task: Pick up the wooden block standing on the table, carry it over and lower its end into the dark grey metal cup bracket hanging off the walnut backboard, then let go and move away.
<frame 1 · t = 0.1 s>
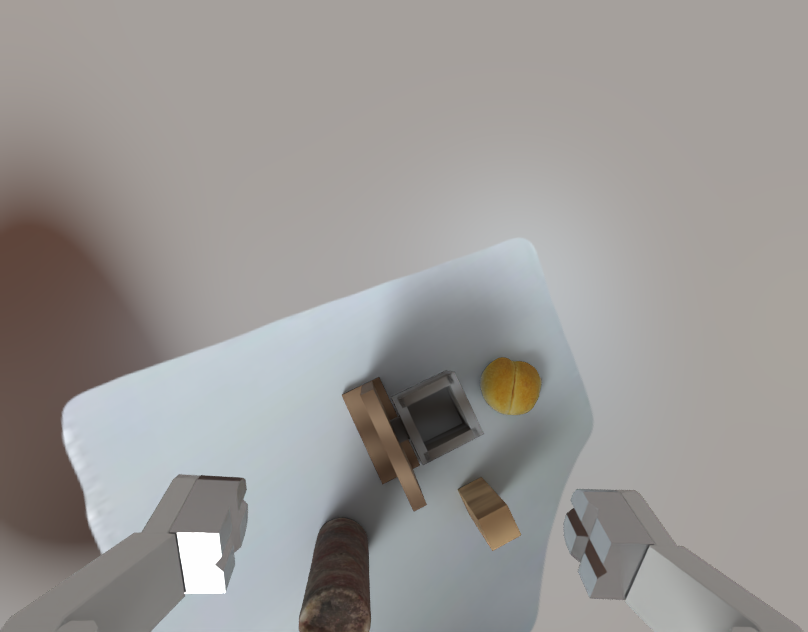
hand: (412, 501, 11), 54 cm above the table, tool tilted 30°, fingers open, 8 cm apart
bracket: (426, 406, 65), on the table
wooden block: (475, 495, 64), on the table
bread roll: (508, 385, 67), on the table
brown rough cylinder: (343, 540, 62), on the table
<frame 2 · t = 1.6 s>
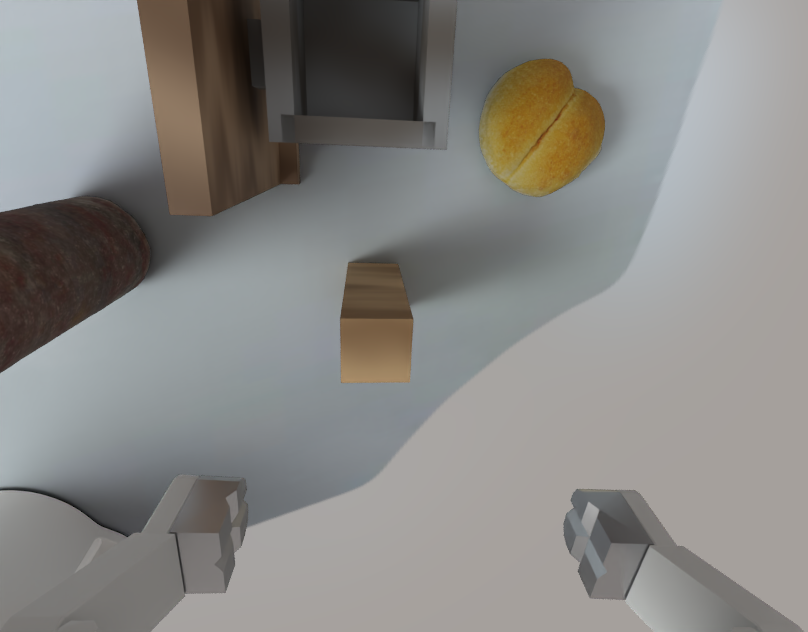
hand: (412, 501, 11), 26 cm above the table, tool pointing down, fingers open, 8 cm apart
bracket: (361, 80, 30), on the table
wooden block: (372, 286, 36), on the table
bread roll: (534, 132, 33), on the table
brown rough cylinder: (109, 244, 33), on the table
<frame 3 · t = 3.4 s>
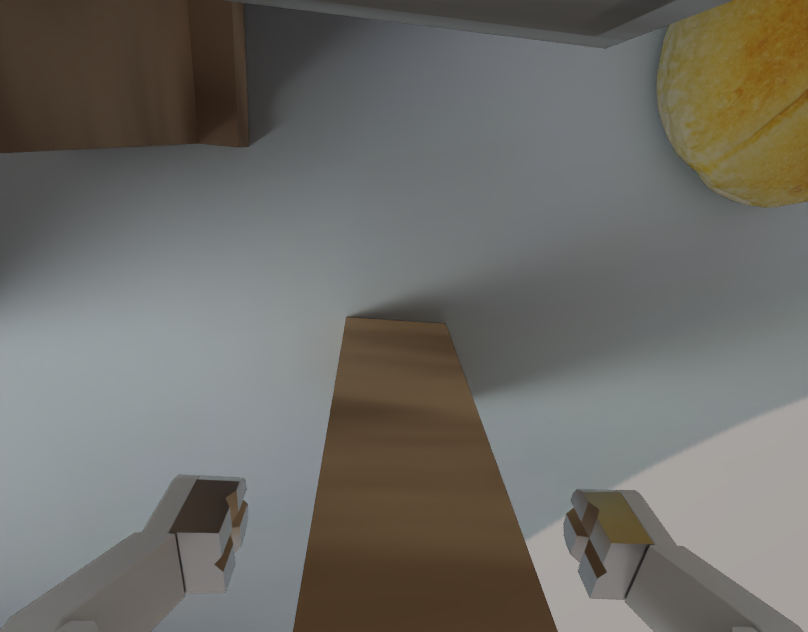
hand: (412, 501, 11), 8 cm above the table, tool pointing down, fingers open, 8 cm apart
wooden block: (392, 364, 18), on the table
bread roll: (769, 65, 15), on the table
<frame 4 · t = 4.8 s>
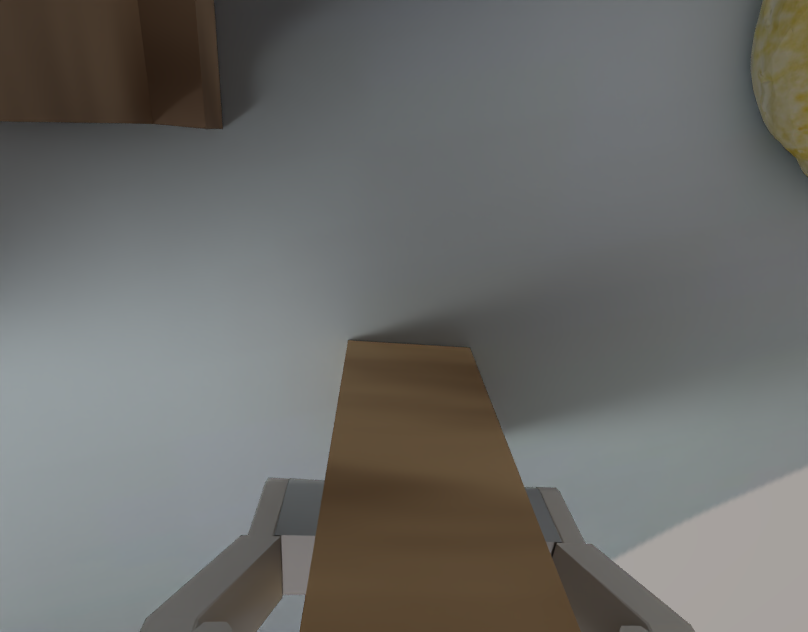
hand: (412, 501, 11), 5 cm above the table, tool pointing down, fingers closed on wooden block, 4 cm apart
wooden block: (404, 395, 15), on the table, touching gripper
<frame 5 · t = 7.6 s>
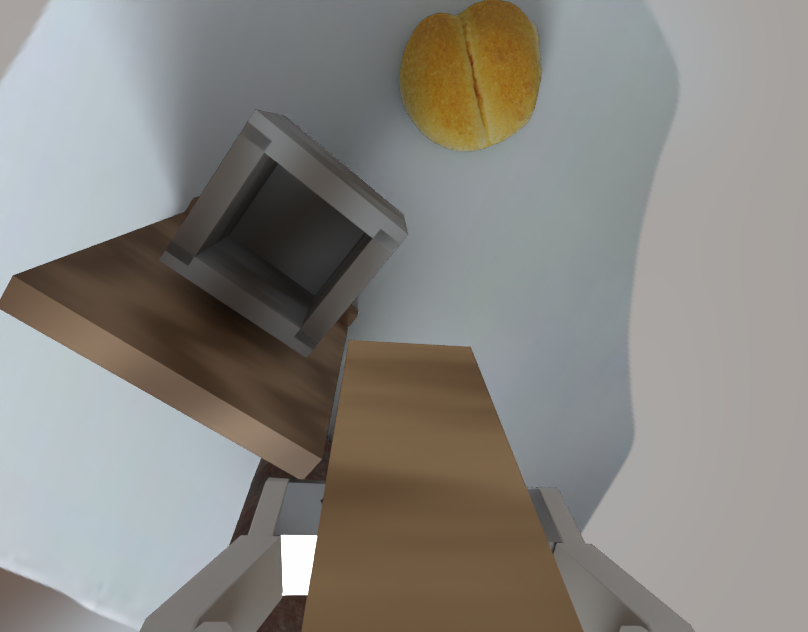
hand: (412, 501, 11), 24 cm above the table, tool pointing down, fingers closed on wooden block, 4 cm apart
bracket: (318, 209, 31), on the table
wooden block: (405, 395, 15), point 19 cm above the table, touching gripper
bread roll: (468, 81, 29), on the table
brown rough cylinder: (306, 454, 40), on the table
when the fingers open (14 cm above the table, at t = 10.3 s): wooden block drops 2 cm, resting on bracket.
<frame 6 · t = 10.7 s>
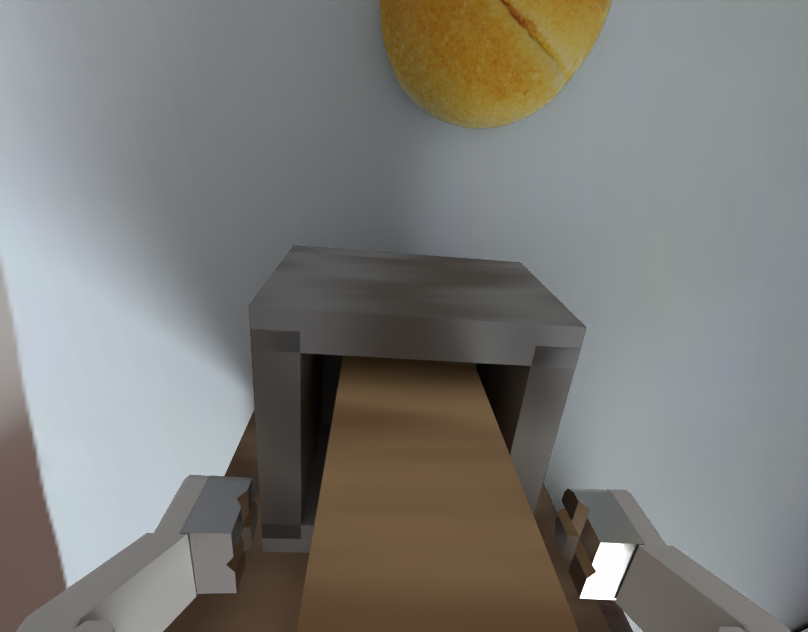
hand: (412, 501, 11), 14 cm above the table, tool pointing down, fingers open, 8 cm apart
bracket: (395, 300, 23), on the table
wooden block: (399, 363, 17), point 7 cm above the table, touching bracket
bread roll: (487, 14, 19), on the table
brown rough cylinder: (537, 550, 32), on the table
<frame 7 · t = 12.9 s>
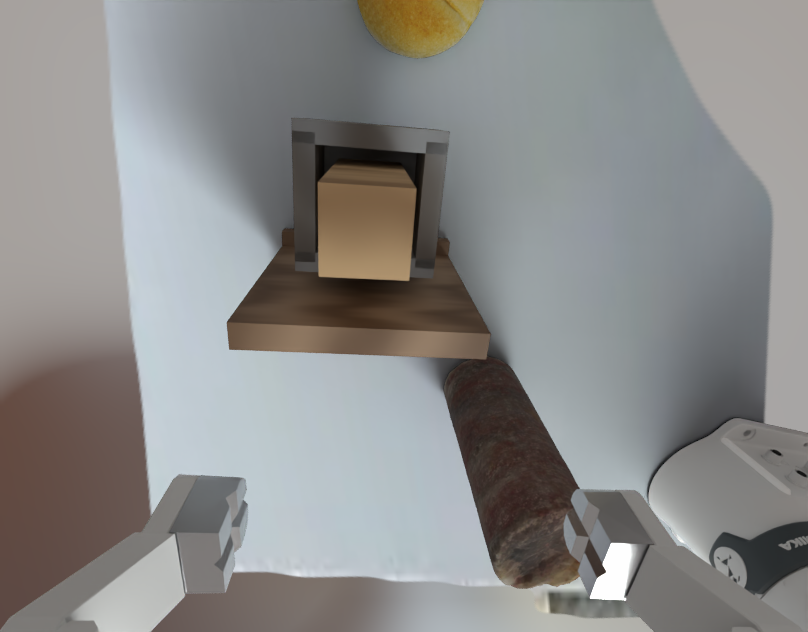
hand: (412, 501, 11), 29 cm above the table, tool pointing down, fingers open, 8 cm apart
bracket: (369, 179, 35), on the table
wooden block: (368, 191, 29), point 7 cm above the table, touching bracket
brown rough cylinder: (478, 380, 44), on the table
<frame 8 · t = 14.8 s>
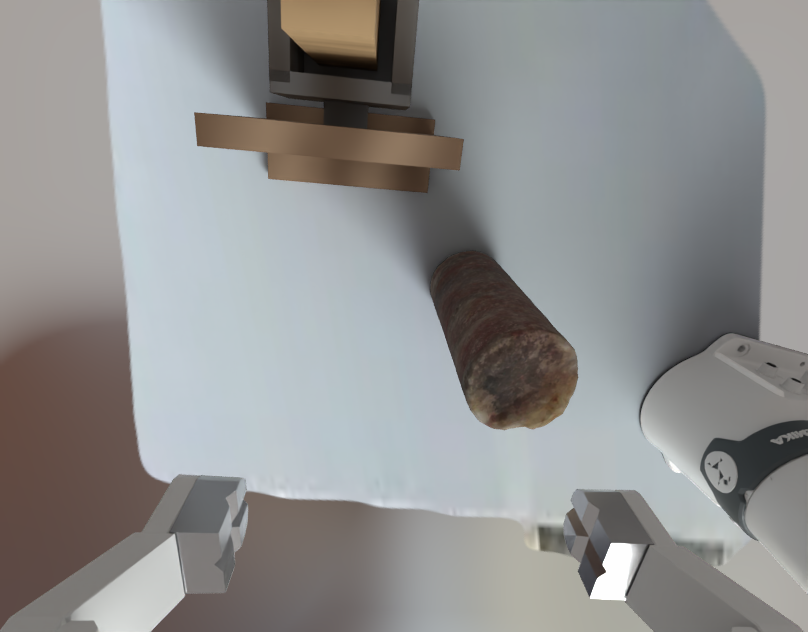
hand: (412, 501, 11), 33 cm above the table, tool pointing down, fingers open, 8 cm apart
bracket: (355, 51, 35), on the table
wooden block: (349, 34, 29), point 7 cm above the table, touching bracket
brown rough cylinder: (465, 281, 44), on the table
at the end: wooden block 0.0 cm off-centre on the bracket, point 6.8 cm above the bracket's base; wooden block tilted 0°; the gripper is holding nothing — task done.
